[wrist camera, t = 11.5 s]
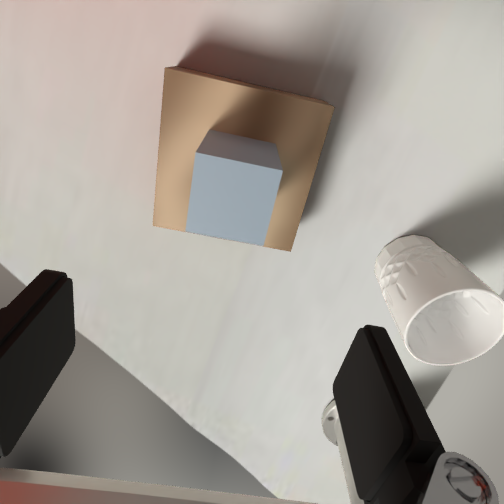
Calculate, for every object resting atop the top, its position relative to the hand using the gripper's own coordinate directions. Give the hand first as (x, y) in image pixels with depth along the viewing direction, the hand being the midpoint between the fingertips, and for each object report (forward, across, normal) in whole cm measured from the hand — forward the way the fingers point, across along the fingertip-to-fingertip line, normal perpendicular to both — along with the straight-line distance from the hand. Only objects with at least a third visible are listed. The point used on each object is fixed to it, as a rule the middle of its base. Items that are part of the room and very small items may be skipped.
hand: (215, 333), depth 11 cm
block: (+18, 0, 0) cm, 18 cm away
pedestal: (+22, 0, 0) cm, 22 cm away
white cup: (+22, -19, +7) cm, 30 cm away
